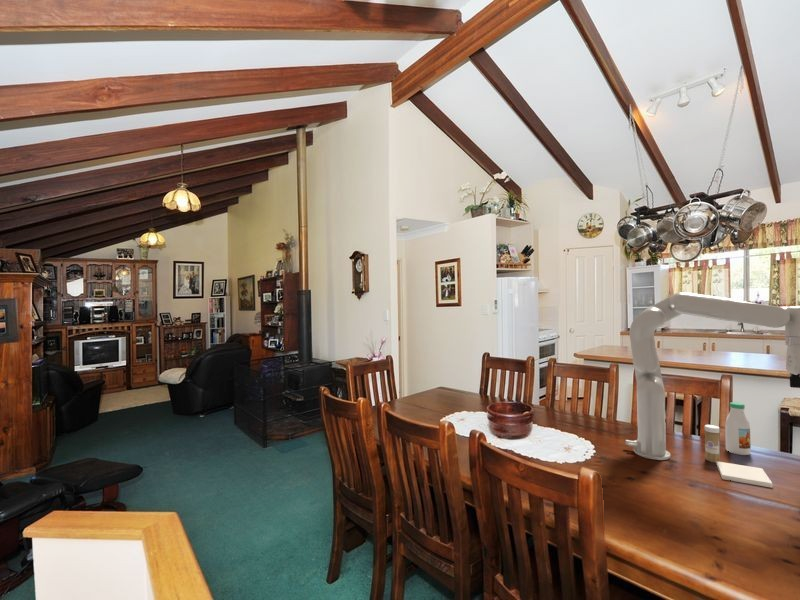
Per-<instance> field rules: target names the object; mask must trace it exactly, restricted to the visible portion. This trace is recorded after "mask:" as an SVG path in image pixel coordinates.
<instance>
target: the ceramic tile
mask: <svg viewBox="0 0 800 600" xmlns="http://www.w3.org/2000/svg"><path fill="white" fill-rule="evenodd" d="M715 465H717V466H716V468H717V470H718V472H719V475H720V477H721V479H722V480H725V481H730V480H731V482H736V483H737V482H738V483H742V484H747V485H754V486H761V487H766V488H771V489H773V487H774V485H773V482H772V480H771V479H770V477H769V476H768V475H767V473H766V471H764V469H763V468H761V467H756V466H750V465H742V464H737V463H736V464H735V463H730V462H724V461H720V462H718V461H716V462H715Z"/></svg>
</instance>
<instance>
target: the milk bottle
mask: <svg viewBox="0 0 800 600" xmlns="http://www.w3.org/2000/svg"><path fill="white" fill-rule="evenodd" d="M729 408H730V409H729V413H728V415H727V416H726V419H725V425H724V427H725V428H724V431H725V432H724V434H725V450H726V451H727V452H728V451H729V453H731V454H735V455H738V456H739V455H740V456H750V455H751V454H752V453H751V452H752V451H751V448H752V446H751V425H750V422H749V420H748V418H747V415H746V414H745V404H744V403H742V402H736V401H735V402H734V401H733V402H729Z"/></svg>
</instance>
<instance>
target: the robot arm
mask: <svg viewBox="0 0 800 600" xmlns="http://www.w3.org/2000/svg"><path fill="white" fill-rule="evenodd" d="M681 315H688V316H693V317H701V318H706V319H710V320H711V319H712V320H718V321H723V322H736V323H743V324H749V325H756V326H761V327H765V328H766V327H767V328H773V329H775V328H776V329H777V328H783V327H784V333H785V337H784V338H785V342H784V344H785V346H787V348H786V359H785V360H786V361H785V370H786V371H787V372H788V373H789V387H790V388H796V389H800V305H795V306H794V305H792V306H778V305H772V304H771V305H770V304H769V305H768V304H762V303H756V302H755V303H754V302H748V301H742V300H738V299H733V298H728V297H724V296H723V297H721V296H715V295H706V294H701V293H699V294H698V293H693V292H685V291H684V292H683V291H681V292H675V293H673V294H672V295H670V296H668V297H666V298H665V299H663V300H660V301H658V302H656V303H655V304H653V305H651V306H649V307H647V308H646V309H644V310H643V311H642V312H641V313H639V314H638V315H637V316H635V317H634V318H633V321H632V322H631V324H630V328H629V340H630V341H629V342H630V349H631V353H632V355H631V356H632V364H633V368H634V374H635V381H636V404H637V405H636V408H637V409H636V410H637V411H636V413H637V414H636V415H637V439H635V440H629V439H625V445H627V446H628V447H632V448H633V452H634V453H635V454H636V455H638V456H639V457H642V458H645V459H647V460H648V459H649V460H657V461H667V460H669V459H671V456H672V455H671V452H669V451H668V450H666V449H667V448H666V445H667V444H666V443H667V442H666V440H667V439H666V409H665V408H666V389H665V385H664V382H663V381H664V380H663V376H662V372H661V365H660V359H659V355H658V354H657V353H658V352H657V348H656V342H655V332H656V330H657V329H659V328H660V327H661V328H662V327H663V326H664V325H665V323H667V322H669V321H671V320H673V319H675V318H677V317H679V316H681Z"/></svg>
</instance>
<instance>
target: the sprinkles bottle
mask: <svg viewBox="0 0 800 600" xmlns="http://www.w3.org/2000/svg"><path fill="white" fill-rule="evenodd" d="M704 434H705V435H704V437H705V438H704V440H705V441H704V450H705V454H704V455H705V457H704V458H705V460H706V461H708V462H711V463H716V461H718V462H721V459H720V427H719V426H717V425H712V424H705V425H704Z"/></svg>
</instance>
